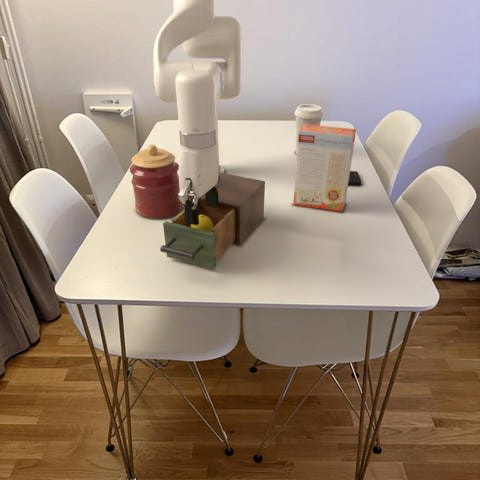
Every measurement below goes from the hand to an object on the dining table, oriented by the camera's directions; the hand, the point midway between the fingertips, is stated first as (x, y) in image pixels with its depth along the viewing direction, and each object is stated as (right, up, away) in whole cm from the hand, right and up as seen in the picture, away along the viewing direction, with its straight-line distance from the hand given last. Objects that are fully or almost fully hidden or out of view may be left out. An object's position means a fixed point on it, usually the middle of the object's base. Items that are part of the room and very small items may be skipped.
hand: (202, 214), depth 106 cm
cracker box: (+31, +9, +25) cm, 41 cm away
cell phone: (+37, +20, +38) cm, 57 cm away
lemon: (0, -6, +5) cm, 8 cm away
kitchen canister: (-14, +7, +23) cm, 28 cm away
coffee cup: (+31, +34, +55) cm, 72 cm away
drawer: (-1, -8, +4) cm, 9 cm away
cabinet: (+6, +1, +16) cm, 17 cm away
